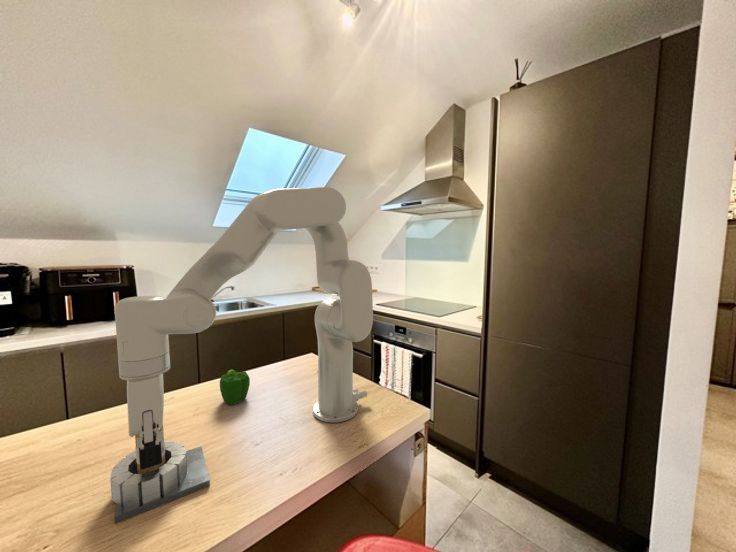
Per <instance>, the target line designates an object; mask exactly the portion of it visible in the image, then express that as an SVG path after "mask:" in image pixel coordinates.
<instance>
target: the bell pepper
mask: <svg viewBox="0 0 736 552" xmlns="http://www.w3.org/2000/svg"><path fill="white" fill-rule="evenodd" d="M250 380H251V379H250V376H249V374H248V373H247V371H240V372H238V371H235V370H234V369H229V370H228V371H227V372H226V374H221V377H220V379H219V391H220V394H221V397H222V401H223V402H225V403H224V404H226V405H229V406H230V405H231V406H232V405H233V406H234V405H236V404H239V403H240V402H242V401H245V400H246V398H247V395H248V392H249V390H250V389H249V388H250V384H251V383H250V382H251V381H250Z"/></svg>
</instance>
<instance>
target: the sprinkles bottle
mask: <svg viewBox="0 0 736 552" xmlns="http://www.w3.org/2000/svg"><path fill="white" fill-rule="evenodd" d="M152 416H153V412H152ZM155 426H156V423H155V424H154V425H153V427H155ZM142 430H144V427H143V428H142ZM158 431H159V442H160V441H161V453H162V463H160V464H158V465H155V466H152V467H149V468H146V469H143V470H141V469H140V457H139V448H140V435H139V432H138V434H137V435H135V436H134V440H135V451H136V461H137V470H138V474H145V473H148V472H151V471H154V470H156V469H158V468H160V467H161V466H163V465H164V464H165V444H164V442H165V431H164V424H163V425H162V427H161V428H160V429H158ZM153 435H155V432H153ZM155 441H156V440H155Z"/></svg>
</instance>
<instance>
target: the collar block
mask: <svg viewBox="0 0 736 552" xmlns="http://www.w3.org/2000/svg"><path fill="white" fill-rule="evenodd" d="M164 444H165V464H164V465H163V466H161V467H160V468H158V469H156V470H154V471H151V472H148V473H145V474H138V470H137V461H136V450H134V451H133V452H131V453H129V454H127V455H125V457H123V458H121V459H120V460H119V461H118V462H117V463H116V464H115V465H114V466H113V468H112V469H111V473H110V488H111V489H110V492H111V499H112V502H113V503H114V504H115V509H114V510H115V511H114V517H113V518H114V524H118V523H120V522H123V521H126V520H128V519H130V518H133V517H135V515H136V516H138V515H141V514H142V513H145V512H147V511H150V510H154V509H155V508H158V507H161V506H163V505H165V504H168V503H170V502H174V501H175V500H178V499H180V498H183V497H186V496H188V495H191V494H193V493H195V492H198V491H200V490H203V489H206V488H208V487H210V486H211V480H210V476H209V471H208V467H207V464H206V459H205V455H204V452H203V447H202V446H198V447H195V448H192V449H188V450H187V449H186V445H184V444H182V443H180V442H178V441H164ZM140 513H141V514H140Z"/></svg>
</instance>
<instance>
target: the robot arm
mask: <svg viewBox="0 0 736 552" xmlns="http://www.w3.org/2000/svg"><path fill="white" fill-rule="evenodd" d="M346 211H347V204H346V200H345V198H344V196H343V194H342V193H340V191H338V190H337V189H335V188H333V187H328V186H320V187H319V186H318V187H316V186H315V187H296V188H295V187H290V188H284V187H283V188H276V189H271V190H268V191H264V192H262V193H260V194H258V195H255V196H254V197H253V198H252V199H251V200H250V201H249V202H248V203H247V205H246V206H245V207H244V208H243V209H242V210H241V211H240V213H239V215H237V217H236V218H235V219H234V220H233V221H232V223H230V226H229V227H228V228H226V230H225V231H224V233H222V235H221V236H220V237H219V238H218V239H217V241H216V242H214V244H213V245H212V246H210V248H208V250H206V252H205V253H204V254H203V255H202V256H201V257H200V258H199V259H198V260H197V261H196V262H195V263H194V264H193V265H192V266H191V267H190V268H189V269H188V270H187V272H185V274H183V276H182V277H181V279H180V280H179V281H178V282H177V283H176V284H175V286H174V287H173V288H172V289H171V291H170V292H169V294H168V295H167V296H166V297H165V298H163V297H161V296H156V295H140V296H139V295H137V296H131V297H130V296H129V297H125V298H122V299H120V300H118V301H117V302H116V304H115V305H114V321H115V334H116V345H117V346H116V347H117V348H116V349H117V350H116V351H117V361H118V372H119V373H118V375H119V379H121V380H123V381H126V399H127V401H126V402H127V419H128V420H127V423H128V436H129V437H130V438H134V437H135V435H137V434H138V432H139V435H140V448H139V457H140V469H141V470H143V469H146V468H149V467H152V466H155V465H158V464H160V463H162V453H161V441H160V442H159V431H158V429H160V428H161V427H162V425H163V426H164V423H163V422H164V410H165V409H164V407H165V406H164V405H165V402H164V401H165V398H164V397H165V394H164V393H165V391H164V374H165V373H166V372H168V371H169V370H170V369H171V360H170V359H171V357H170V342H169V340H170V339H169V335H190V334H197V333H201V332H203V331H205V330H208V329H209V327H211V326H212V325H213V323H214V322H215V320H216V317H217V309H216V306H215V304H214V302H213V301H212V298H213V297H214V295H216V293H217V292H218V291H219V290H220V289H221V288H222V287H223V286H224V285H225V284H226V283H227V282H228V281H230V280H231V279H232V278H234V277H236V276H238V275H240V274H242V273H245V272H246V271H247V270H249V269H250V268H251V267H253V266H254V265H255V264H256V261H257V260H258V259H259V258H260V256H261V255H262V254H263V253H264V251H265V250H266V249H267V247H268V246H269V244H270V243H271V242H272V240H273V239H274V238H275V236H276V235H277V234H278V233H279V232H280V231H288V230H289V231H291V230H299V229H300V230H302V229H306V231H308V232H309V235H310V236H311V238H312V240H313V243H314V250H315V261H316V262H315V264H316V280H317V285H318V287H319V289H320V290H321V291H322V292H324V293H326V294H329V295H331V296H337V297H339V298H327V299H324V300H323V301H321V302H320V303H319V304H318V305H317V307H316V309H315V313H314V325H315V330H316V336H317V337H316V338H317V352H318V353H317V363H318V365H317V366H318V369H317V371H318V372H317V373H318V374H317V378H318V380H317V383H318V384H317V386H318V390H317V391H318V401H316V402H315V403H314V404H313V406H312V415H313V416H314V417H315V418H317V419H318V420H320V421H322V422H325V423H332V424H333V423H342V422H346V421H348V420H349V421H350V419H353V418H354V417H355V416H356V415H357V414H358V412H359V404H358V401H359V400H361V399H364V398H366V397H368V391H366V390H365V389H363V390H360V391H359V389H358V388H356V389H354V388H353V387H354V386H353V385H354V384H353V379H354V377H353V376H354V375H353V374H354V372H353V371H354V370H353V369H354V368H353V367H354V366H353V364H354V362H353V361H354V360H353V359H354V347H353V342H355V343H358V342H362V341H364V340H365V339H366V338H367V337H368V336H369V334H370V333H371V332H372V331H371V330H372V328H373V322H374V306H373V305H374V304H373V303H374V302H373V283H372V282H373V281H372V277H371V273H370V271H369V269H368V268H367V267H366V265H365V264H363V263H362V262H360V261H357V260H353V259H349V250H348V242H347V241H348V240H347V236H346V232H345V231H344V228H343V227H342V225H341V223H340V221H341V220H343V218H344V217H345V215H346ZM152 412H153V416H152ZM155 423H156V426H155V427H153V425H154V424H155ZM143 427H144V430H142V428H143ZM153 432H155V435H153ZM155 440H156V441H155Z"/></svg>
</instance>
